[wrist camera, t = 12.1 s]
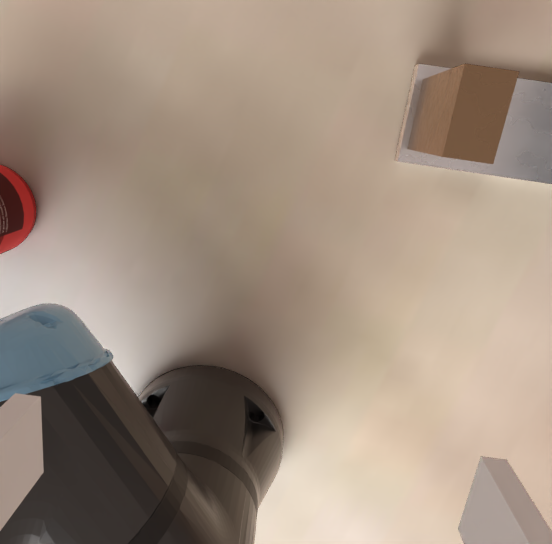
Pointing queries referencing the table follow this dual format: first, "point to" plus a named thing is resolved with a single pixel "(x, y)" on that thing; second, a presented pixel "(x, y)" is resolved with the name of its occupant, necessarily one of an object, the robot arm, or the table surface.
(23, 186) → the canned food
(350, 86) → the table surface
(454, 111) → the steel scraper
